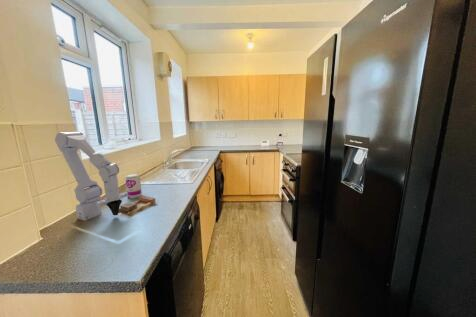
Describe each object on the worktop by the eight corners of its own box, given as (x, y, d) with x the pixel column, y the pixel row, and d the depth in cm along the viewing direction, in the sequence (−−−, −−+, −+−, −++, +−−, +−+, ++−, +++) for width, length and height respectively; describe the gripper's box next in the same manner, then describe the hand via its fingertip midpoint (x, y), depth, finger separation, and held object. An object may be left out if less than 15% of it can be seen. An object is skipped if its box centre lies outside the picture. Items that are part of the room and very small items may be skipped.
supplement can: (137, 200, 120) (135, 177, 117) (124, 200, 120) (121, 177, 117) (144, 195, 128) (142, 173, 125) (132, 195, 128) (129, 173, 125)
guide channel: (129, 219, 96) (128, 211, 95) (112, 214, 101) (111, 207, 100) (157, 205, 112) (156, 198, 111) (141, 201, 117) (140, 195, 117)
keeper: (128, 214, 100) (128, 207, 99) (121, 212, 102) (120, 205, 101) (137, 209, 104) (136, 203, 103) (129, 208, 106) (128, 202, 106)
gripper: (101, 195, 85) (105, 223, 88) (130, 185, 98) (134, 209, 101) (91, 192, 88) (96, 220, 91) (121, 183, 101) (124, 207, 104)
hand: (115, 214), depth 96 cm, fingers closed
